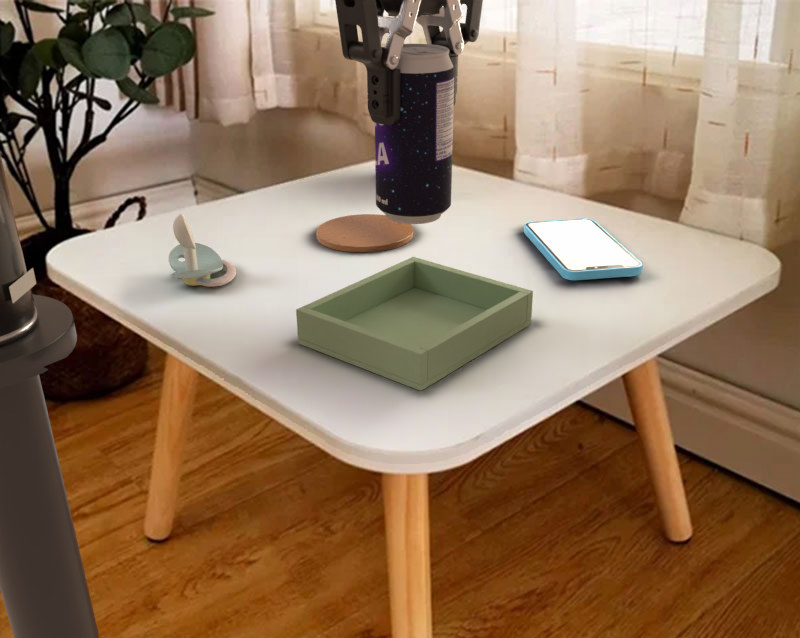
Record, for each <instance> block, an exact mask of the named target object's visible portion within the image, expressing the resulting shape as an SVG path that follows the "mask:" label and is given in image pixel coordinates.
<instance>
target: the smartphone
mask: <svg viewBox="0 0 800 638" xmlns="http://www.w3.org/2000/svg"><path fill="white" fill-rule="evenodd" d="M523 234H524V235H525V236H526V237H527V238H528V239H529V240H530V242H531V243H532V244H533V245H534V247H536V248H537V250H538V251H539V252H540V253H541V254H542V256H543V257H544V258H545V259H546V260H547V261H548V263H549V264H550V265H551V266H552V267H553V268H554V269H555V271H556V272H557V273H558V274H559V275H560V276H561V278H563V279H565V280H569V281H585V280H598V279H611V278H623V277H624V278H625V277H626V278H632V277H636V276H640V275H642V273H643V265H644V264H643V262H642V261H641V260H640V259H639V258H638V257H636V256H635V255H634V254H633V253H632V252H631V251H630V250H629V249H627V248H626V247H625V246H624V245H623V244H622V243H621V242H620V241H618V240H617V238H615V237H614V236H613V235H612V234H610V232H608V231H607V230H606V229H605V228H604V227H603V226H602V225H600V223H598V222H597V221H596V220H595V219H592V218H585V217H583V218H582V217H581V218H568V219H567V218H566V219H565V218H564V219H553V220H552V219H551V220H538V221H537V220H536V221H528V222H525V223H524V226H523Z"/></svg>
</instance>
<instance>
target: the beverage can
mask: <svg viewBox="0 0 800 638" xmlns="http://www.w3.org/2000/svg"><path fill="white" fill-rule="evenodd" d="M383 47H384V48H385V47H386V45H385V46H383ZM448 54H449V49H448V48H447V47H444V46H439V45H432V44H427V43H404V45H403V49H402V52H401V56H400V60H399V64H398V66H397V67H396V68H395V69H400V88H401V118H400V122H399V123H397V124H394V125H390V126H389V125H384V124H379V123H375V122H374V167H375V169H374V170H375V171H374V172H375V175H374V176H375V205H376V207H377V208H378V209H379V211H381V212H382V213H383V215H386V217H387V218H388V219H389V220H391V221H394V222H398V223H403V224H411V225H424V224H429V223H434V222H436V221H438V220H440V218H441V217H442V215H443V214H444V213H445V212H446V211H447V210H448V209H449V208H450V207H451V205H452V185H453V184H452V178H453V173H452V172H453V144H454V143H453V141H454V132H453V131H454V107H455V105H454V66H453V64H452V62H451V60H450V58H449V55H448ZM453 106H454V107H453Z"/></svg>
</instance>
